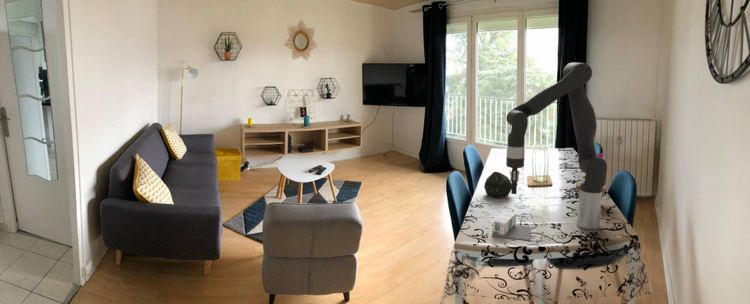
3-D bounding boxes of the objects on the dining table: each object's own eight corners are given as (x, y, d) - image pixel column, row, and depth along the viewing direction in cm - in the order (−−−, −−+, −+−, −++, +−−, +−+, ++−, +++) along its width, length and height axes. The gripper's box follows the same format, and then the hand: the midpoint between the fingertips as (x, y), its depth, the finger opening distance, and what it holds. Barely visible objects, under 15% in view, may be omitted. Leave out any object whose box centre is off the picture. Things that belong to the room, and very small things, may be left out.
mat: (530, 227, 214) (530, 226, 214) (530, 240, 201) (530, 239, 200) (494, 224, 219) (494, 223, 219) (492, 236, 205) (492, 235, 205)
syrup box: (504, 210, 219) (492, 220, 208) (516, 213, 215) (505, 223, 204) (503, 222, 220) (491, 232, 209) (516, 225, 217) (504, 235, 205)
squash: (515, 183, 262) (498, 163, 261) (518, 192, 248) (499, 171, 247) (495, 198, 267) (478, 178, 266) (496, 208, 253) (478, 187, 252)
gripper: (524, 160, 198) (522, 198, 202) (524, 152, 210) (522, 189, 214) (505, 159, 200) (504, 197, 204) (507, 152, 212) (505, 188, 216)
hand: (513, 193), depth 209 cm, fingers closed
